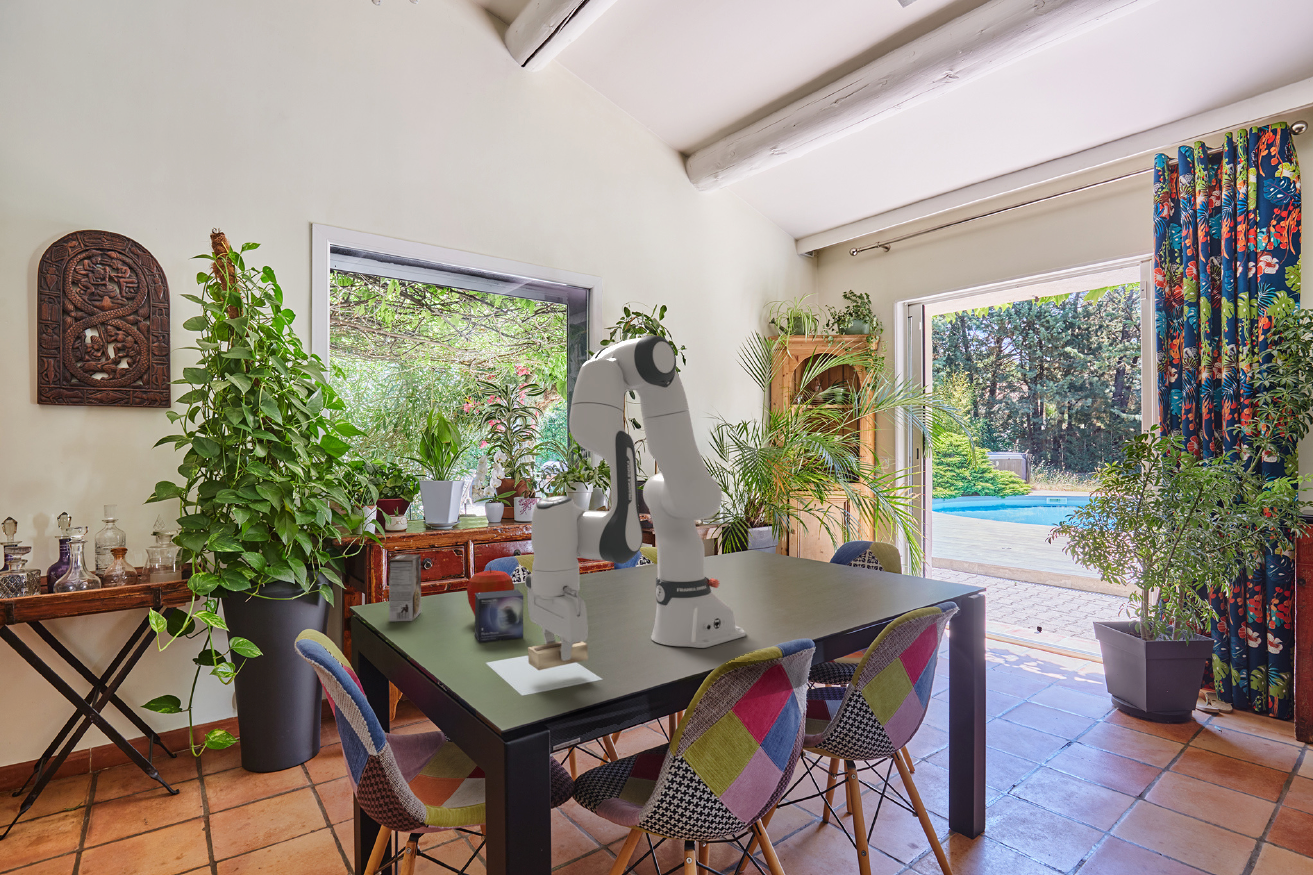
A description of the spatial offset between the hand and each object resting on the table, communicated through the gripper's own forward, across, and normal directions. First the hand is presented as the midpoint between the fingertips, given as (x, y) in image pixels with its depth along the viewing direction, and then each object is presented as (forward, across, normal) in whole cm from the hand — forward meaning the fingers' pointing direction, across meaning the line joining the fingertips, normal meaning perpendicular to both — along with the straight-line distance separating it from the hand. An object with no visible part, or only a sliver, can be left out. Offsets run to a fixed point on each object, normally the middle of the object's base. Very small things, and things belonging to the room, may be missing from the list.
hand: (558, 654), depth 129 cm
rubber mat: (+5, +6, +1) cm, 8 cm away
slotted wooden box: (+1, 0, 0) cm, 1 cm away
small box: (+6, +36, -1) cm, 37 cm away
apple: (+6, +52, -4) cm, 53 cm away
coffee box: (+5, +70, +14) cm, 71 cm away
